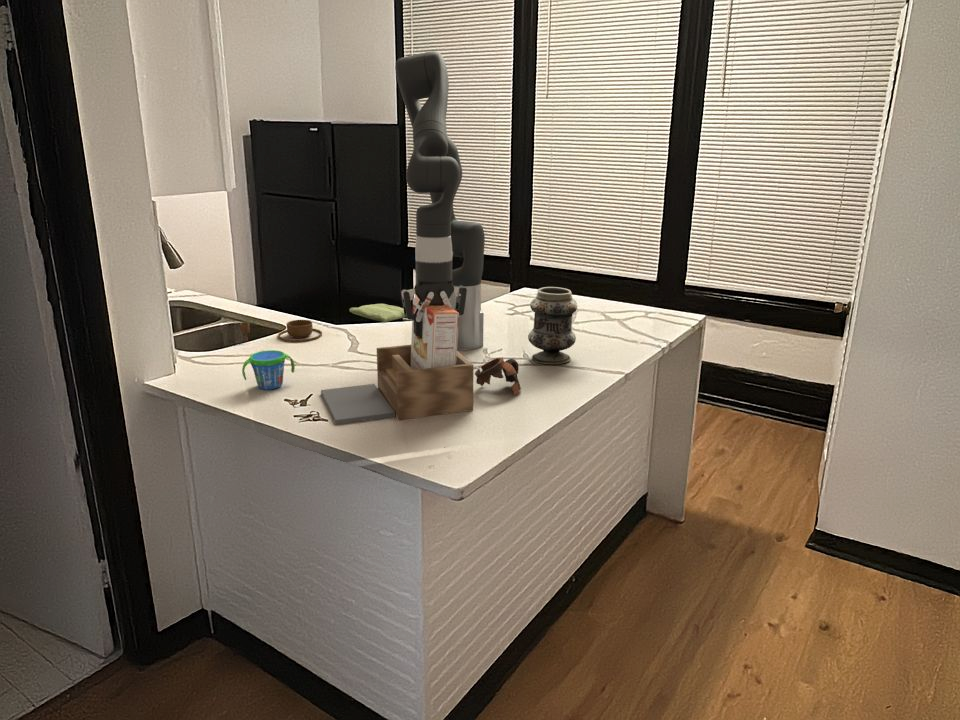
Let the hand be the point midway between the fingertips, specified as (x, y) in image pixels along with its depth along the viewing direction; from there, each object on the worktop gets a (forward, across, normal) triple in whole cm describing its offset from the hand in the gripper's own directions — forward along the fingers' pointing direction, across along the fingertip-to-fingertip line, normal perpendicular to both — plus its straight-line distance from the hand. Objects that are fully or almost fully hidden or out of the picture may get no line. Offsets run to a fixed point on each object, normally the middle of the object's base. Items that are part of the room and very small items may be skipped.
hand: (434, 336), depth 152 cm
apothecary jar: (+14, -36, -17) cm, 43 cm away
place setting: (+15, +25, -59) cm, 66 cm away
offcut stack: (+14, +7, 0) cm, 16 cm away
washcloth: (+15, -6, -73) cm, 75 cm away
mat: (+14, +17, -2) cm, 22 cm away
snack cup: (+14, +33, -20) cm, 41 cm away
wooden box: (+14, +3, 0) cm, 14 cm away
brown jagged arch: (+15, -18, 0) cm, 23 cm away
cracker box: (+14, +1, 0) cm, 14 cm away
